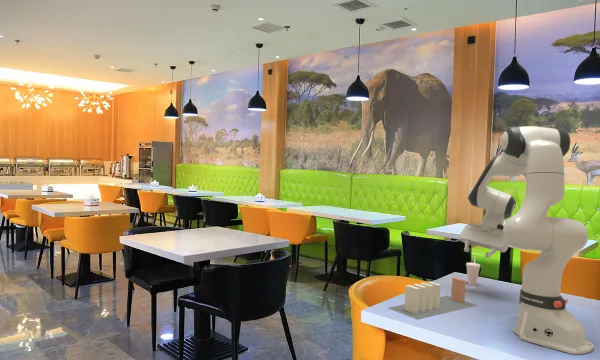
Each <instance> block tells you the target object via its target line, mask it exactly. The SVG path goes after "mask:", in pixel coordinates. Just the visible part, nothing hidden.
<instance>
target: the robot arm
mask: <svg viewBox="0 0 600 360" xmlns="http://www.w3.org/2000/svg"><path fill="white" fill-rule="evenodd" d="M500 147H501V151H502V153H501V154H500V155H499V156H495V157H492V158H491V160H490V161H489V162H488V164H487V165H486V166H485V168H484V170H483V171H482V172H481V174H480V176H479V177H478V179H477V181H476V183H475V184H474V185H473V186H472V187H471V189H470V190H469V192H468V197H467V199H468V202H469V203H470V205H471V206H474V207H476V208H479V209H483V210H485V214H484V215H483V216H482V217H481V220H480V222H479V224H475V223H474V224H473V223H468V224H465V226H464V227H463V229H462V231H461V232H460V234H459V236H458V237H459V239H460V241H461V243H464V249H463V251H464V252H465V253H466V252H467V253H469V252H470V249H471V248H470V247H469V246H470V245H473V246H477V247H480V248H484V249H488V250H490V251H486V252H485V253H486V254H485V258H488V259H490V258H491V256H493V255H494V254H495V253H497V252H501V253H506V252H507V251H508V248H509V246H511V247H514V248H516V249H517V248H518V249H521V250H528V251H529V250H530V251H540V253H539V255H538V256H537V257H536V258H535V259H533V260H530V261H528V262H527V263H525V265H524V267H523V269H522V284H521V288H520V290H519V291H520V292H519V310H518V316H517V319H516V322H515V325H514V328H513V332H514V334H516V335H518V337H519V339H520V340H522V341H525V342H529V343H532V344H536V345H540V346H542V347H546V348H549V349H553V350H557V351H560V352H564V353H567V354H571V355H585V354H588V353H590V352H592V351H593V350H594V344H593V342H591V341H589V340H587V339H586V331H585V327H584V324H582V323H581V322H580V321H579V320H578V319H577V318H576V317H575V316H573V314H572V313H571V312H570V311H569V310H567V309H566V305H567V303H569V299H564V298H563V297H562V295H561V288H562V287H561V286H562V279H563V273H564V270H565V268H566V266H567V264H568V262H569V261H570V259H571V258H572V257H573V256H574V255H575V254H576V253H578V252H579V251H581V250H582V249H584V248H585V246H586V245H587V243H588V240H589V233H588V229H587V227H586V226H585V224H584V223H583V222H581V221H579V220H576V219H572V218H568V217H557V216H556V217H555V216H554V217H553V216H548V213H549V212H548V211H549V209H550V208H551V207H553V206H556V205H557V204H559V203H560V202H562V200H563V199H564V197H565V163H564V162H565V161H564V157H565V156H566V154H567V153H569V150H570V147H571V137H570V134H569V132H568V131H566V130H565V129H563V128H562V129H561V128H558V127H554V128H553V127H552V128H551V127H545V126H544V127H543V126H536V125H528V126H527V125H526V126H525V125H524V126H519V125H516V126H515V125H514V126H510V127H506V128H505V130H503V132H502V134H501V138H500ZM524 174H525V176H526V178H525V179H526V181H525V194H524V199H523V202H522V204H521V206H520V207H519V209H518V211H517V212H515V213H514V212H513V211H514V210H515V208H516V206H517V203H516V200H515V198H514V196H513V195H511V194H509V193H506V192H504V191H500V190H498V189H496V188H493V187H490V186H488V184H489V182H490V180H491V179H492V178H493V177H495V176H501V177H518V176H521V175H524ZM512 213H514V214H513V215H512ZM504 222H505V223H504Z"/></svg>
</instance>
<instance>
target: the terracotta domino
mask: <svg viewBox="0 0 600 360" xmlns="http://www.w3.org/2000/svg"><path fill="white" fill-rule="evenodd" d="M466 282H467V279H462V278H459V277H452V280H451V294H450V297H451V300H453V301H456V302H460V303H464V301H465V299H466V298H465V296H466Z"/></svg>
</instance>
